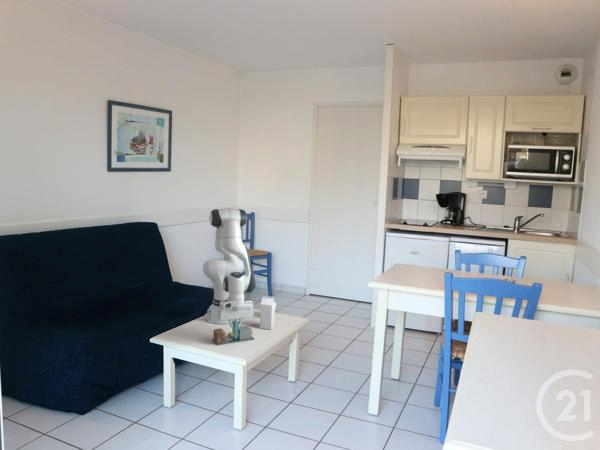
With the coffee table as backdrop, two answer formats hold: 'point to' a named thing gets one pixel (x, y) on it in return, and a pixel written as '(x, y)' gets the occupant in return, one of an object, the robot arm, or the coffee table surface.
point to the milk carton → (267, 312)
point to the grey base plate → (243, 336)
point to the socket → (219, 335)
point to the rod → (235, 331)
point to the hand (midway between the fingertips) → (235, 326)
